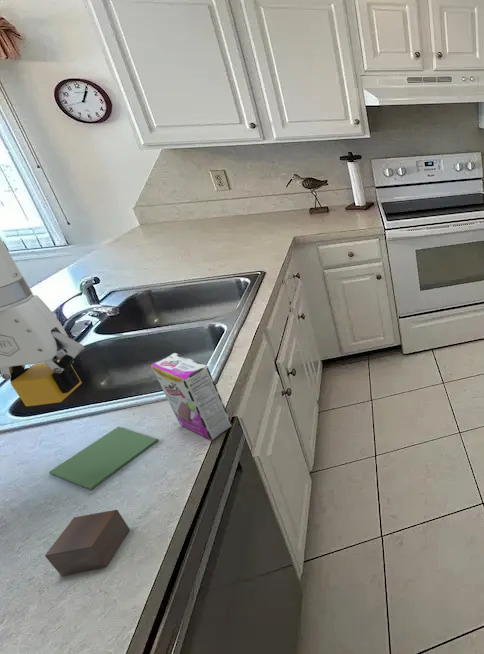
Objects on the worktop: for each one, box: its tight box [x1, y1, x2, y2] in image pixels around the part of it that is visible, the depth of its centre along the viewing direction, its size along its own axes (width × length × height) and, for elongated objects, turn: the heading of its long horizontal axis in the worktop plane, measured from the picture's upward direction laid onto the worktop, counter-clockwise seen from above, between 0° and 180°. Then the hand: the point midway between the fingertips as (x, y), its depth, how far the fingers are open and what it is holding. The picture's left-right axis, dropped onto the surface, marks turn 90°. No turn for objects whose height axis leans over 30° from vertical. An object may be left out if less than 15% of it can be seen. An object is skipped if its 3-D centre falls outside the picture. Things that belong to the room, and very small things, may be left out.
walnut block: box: [44, 509, 131, 577], centre depth 64 cm, size 6×6×5 cm
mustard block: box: [10, 360, 83, 407], centre depth 69 cm, size 5×5×5 cm
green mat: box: [48, 426, 159, 491], centre depth 82 cm, size 12×12×1 cm
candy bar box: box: [150, 352, 233, 441], centre depth 85 cm, size 11×5×16 cm, turn 65°
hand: (51, 389), depth 70 cm, fingers closed on mustard block, 5 cm apart
